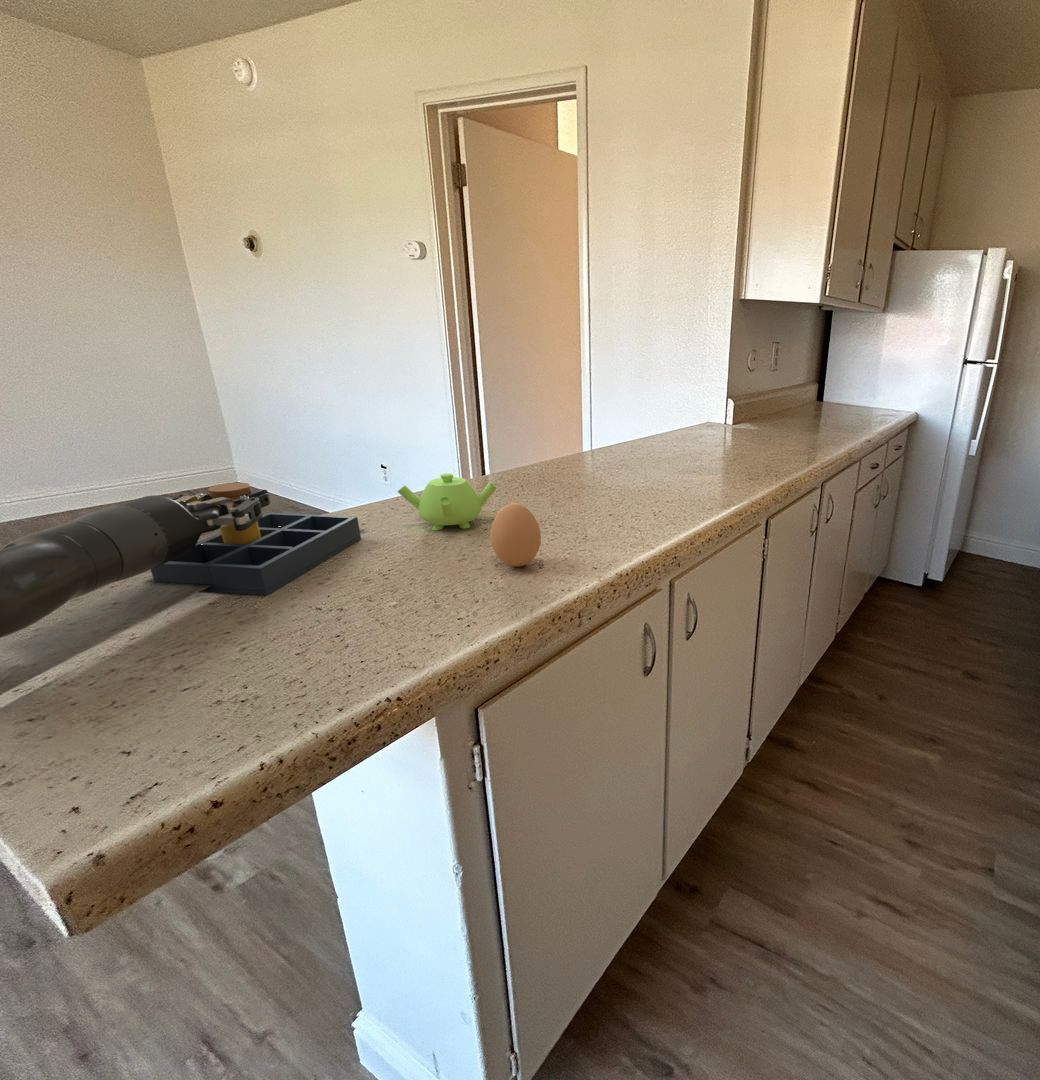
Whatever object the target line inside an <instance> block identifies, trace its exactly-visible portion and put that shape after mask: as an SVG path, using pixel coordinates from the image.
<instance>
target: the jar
mask: <svg viewBox="0 0 1040 1080" xmlns="http://www.w3.org/2000/svg"><path fill="white" fill-rule="evenodd" d="M207 492H208V493H209V496H211V497H212V499H215V498H219V497H223V498H230V499H232V498H236V497H240V496H243V495H246V494H249V493H251V492H253V489H252V486H251V483H248V482H226V483H220V484H216V485H211V486H210V487H208V488H207ZM217 506H219V507H220V505H217ZM237 506H238V504H234V506H233V508H236V507H237ZM220 509H221V508H220ZM219 529H220V533H222V537H223V541H224V543H229V544H248V543H250V542H253V541H255V540H257V539H259V538H261V534H260V530H259V526H258V521H257V522H255V523H254V524H253V525H252V526H250V527H249V528H248V529H246V530H244V531H236V530H235V526H234V525H229V526H226V527H223V528H219Z"/></svg>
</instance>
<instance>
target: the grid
mask: <svg viewBox="0 0 1040 1080" xmlns="http://www.w3.org/2000/svg"><path fill="white" fill-rule="evenodd" d="M262 515H263V517H262V518H260V519H259V520H258V526H259V530H260V534H261V538H259V539H257V540H255V541H253V542H250V543H248V544H229V543H224V541H223V537H222V533H221V532H219V533H216V534H214V535H211V536H209V537H207V538H204V539H202V540H200V541H198V542H197V544H196V546H195V547H194V548H193V550H191V551H190V552H189V553H187V554H185V555H183V556H181V557H178V558H176V559H174V560H171V561H169V562H167V563H164V564H162V565H160V566H157V567H155V568H152V569H150V573H151V576H152V579H153V581H154V582H156V583H157V582H158V583H159V582H160V583H161V582H162V583H177V584H179V583H181V584H199V585H209V586H207V587H205V588H203V589H201V590H200V591H198V593H211V594H231V595H250V596H251V595H252V596H255V595H256V596H268V595H270V594H272V593H273V592H275V591H277V590H278V589H280V588H282V587H284V586H285V585H287V584H288V583H291V581H294V580H295V579H297V578H299V577H300V576H302V575H304V574H305V573H307V572H309V571H310V570H312V569H313V568H316V567H317V566H319V565H320V564H322V563H324V562H325V561H326V559H327V560H328V559H330V558H332V557H333V556H335V555H337V554H339V553H340V552H342V551H343V549H344V550H345V549H347V548H349V547H351V546H352V545H354V544H355V543H357V542H359V541H360V540H362V536H361V529H360V524H359V519H358V516H347V515H330V514H329V515H327V514H313V513H312V514H311V513H310V514H309V513H291V512H290V513H289V512H288V513H287V512H265V513H264V514H262ZM278 526H281V527H278ZM358 540H359V541H358ZM356 541H357V542H356ZM353 543H354V544H353ZM201 544H203V545H201ZM348 546H349V547H348ZM346 547H347V548H346ZM331 556H332V557H331ZM329 557H330V558H329ZM324 560H325V561H324ZM321 562H322V563H321ZM319 563H320V564H319ZM316 565H317V566H316Z"/></svg>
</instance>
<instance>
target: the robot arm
mask: <svg viewBox="0 0 1040 1080" xmlns="http://www.w3.org/2000/svg"><path fill="white" fill-rule="evenodd" d="M234 504H238V506H237V507H236V508H233V506H234ZM270 504H271V499H270V494H269V492H268V490H267V489H261V488H260V489H257V490H254V491H252V492H251V493H249V494H246V495H243V496H240V497H236V498H232V499H230V498H223V497H219V498H215V499H212V497H211V496H209V492H208V493H202V492H201V493H199V492H198V493H197V494H194V495H189V494H186V493H185V494H184V493H180V494H177V495H173V496H172V495H171V496H167V497H166V496H163V495H146V496H142V497H139V498H136V499H133V500H128V501H125V502H122V503H119V504H115V505H112V506H109V507H106V508H103V509H98V510H96V511H92V512H89V513H85V514H83V515H82V516H79V517H77V518H75V519H72V520H70V521H67V522H65V523H62V524H59V525H55V526H52V527H49V528H46V529H43V530H38V531H35V532H32V533H29V534H26V535H24V536H21V537H19V538H16V539H14V540H12V541H10V542H8V543H6V544H5V545H4V546H2V547H1V549H0V639H2V638H6V637H7V636H10V635H13V634H16V633H17V632H19V631H23V630H24V629H26V628H28V627H30V626H32V625H34V624H36V623H38V622H40V621H41V620H43V619H44V618H45V617H48V615H50V614H51V613H53V612H55V611H57V610H58V609H60V608H62V607H63V606H64V605H65V604H67V603H68V602H69V601H72V600H74V599H75V600H76V599H77V598H80V597H82V596H85V595H88V594H90V593H92V592H95V591H97V590H99V589H102V588H104V587H106V586H109V585H111V584H114V583H117V582H120V581H123V580H124V581H125V580H128V579H130V578H134V577H136V576H138V575H141V574H144V573H145V572H147V571H151V569H152V568H155V567H157V566H160V565H162V564H164V563H167V562H169V561H171V560H174V559H176V558H178V557H181V556H183V555H185V554H187V553H189V552H190V551H191V550H193V548H194V547H195V546H196V544H197V542H199V540H200V538H201V536H205V535H208V534H211V533H212V534H213V533H214V532H215V531H218V530H219V529H220V528H223V527H226V526H229V525H234V526H235V530H236V531H244V530H246V529H248V528H249V527H250V526H252V525H253V524H254V523H255V522H257V521H258V520H259V519H260V518H262V517H263V515H264V514H263V512H262V511H263V510H262V508H265V507H268V506H269V505H270ZM217 505H220V507H219V506H217ZM220 508H221V509H220Z"/></svg>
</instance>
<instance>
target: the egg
mask: <svg viewBox="0 0 1040 1080" xmlns="http://www.w3.org/2000/svg"><path fill="white" fill-rule="evenodd" d="M493 519H494V520H493V521H492V523H491V529H490V543H491V547H492V550H493V553H494V554H495V556H496V557H497V558H498V559H499V560H500V561H501V562H503V563H504V564H506V565H507V566H510V567H514V568H515V567H516V568H518V567H524V566H526V565H528V564H529V563H530V562H532V561H533V559H534V558H535V557H536V556H537V554H538V553H539V550H540V548H541V544H542V534H541V528H540V524H539V522H538V521H537V519H536V517H535V515H534V514H533V513H532V511H531V510H530V509H529V508H527V507H526V506H525V505H523V504H520V503H516V502H513V503H512V502H511V503H509V504H506V505H504V506H503V507H501V509H499V510H498V512H497V513H496V515H495V517H494V518H493Z"/></svg>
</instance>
